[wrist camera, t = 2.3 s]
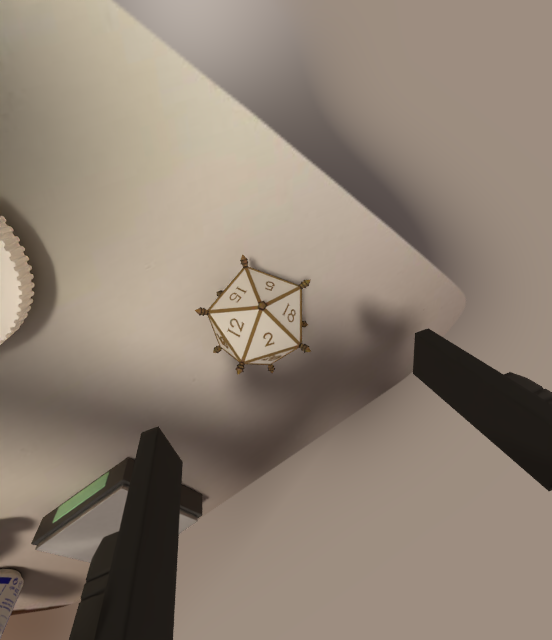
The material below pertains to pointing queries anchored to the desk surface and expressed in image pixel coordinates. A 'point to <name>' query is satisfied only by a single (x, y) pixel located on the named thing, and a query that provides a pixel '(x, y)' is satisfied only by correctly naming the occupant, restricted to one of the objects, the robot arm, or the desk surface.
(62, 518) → the scale
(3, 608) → the beverage can
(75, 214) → the desk surface
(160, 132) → the desk surface
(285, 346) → the game die
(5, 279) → the plastic lid
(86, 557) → the scale pan
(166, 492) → the robot arm
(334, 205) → the desk surface
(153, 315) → the desk surface
